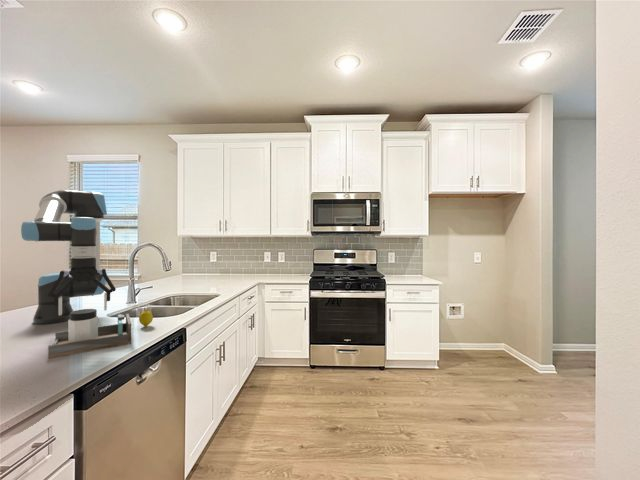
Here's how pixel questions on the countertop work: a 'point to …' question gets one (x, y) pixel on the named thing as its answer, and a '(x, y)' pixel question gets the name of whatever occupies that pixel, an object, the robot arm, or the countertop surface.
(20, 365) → the countertop surface
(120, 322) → the panel
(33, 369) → the countertop surface
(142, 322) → the fruit
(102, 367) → the countertop surface
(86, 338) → the jar
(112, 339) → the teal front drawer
